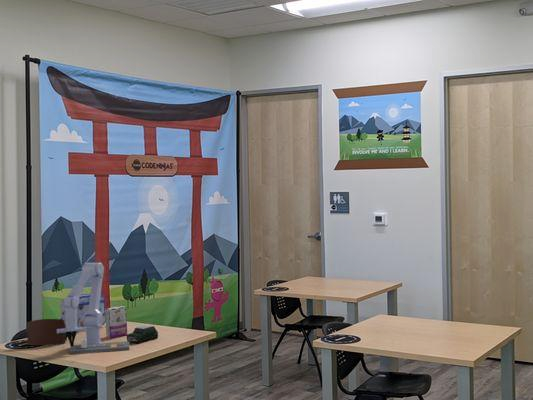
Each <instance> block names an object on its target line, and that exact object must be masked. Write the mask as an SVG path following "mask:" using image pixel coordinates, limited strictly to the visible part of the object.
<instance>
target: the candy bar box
mask: <svg viewBox="0 0 533 400" xmlns="http://www.w3.org/2000/svg"><path fill="white" fill-rule="evenodd" d="M105 318H106V322H105V334H106V338H108V339H113V338H119V337H123V336H127V335H128V323H127V322H128V321H127V307H126V306H125V305H121V306H113V307H109V308H106V309H105Z"/></svg>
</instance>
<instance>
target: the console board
mask: <svg viewBox="0 0 533 400" xmlns="http://www.w3.org/2000/svg"><path fill="white" fill-rule="evenodd" d="M119 351H130V342H129V341H127V340H126V341H115V342H114V341H113V342H101V343H98V344H87V347H86V348H81V344H74V346H73V347H71V346H70V347H69V351H68V352H69V355H77V354H90V353H91V354H92V353H101V352H103V353H104V352H119Z"/></svg>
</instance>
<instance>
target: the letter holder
mask: <svg viewBox="0 0 533 400" xmlns="http://www.w3.org/2000/svg"><path fill="white" fill-rule="evenodd" d="M62 328H66V325H65V322H64V320H62V319H61V318H60V319H59V318H42V319H35V320H30V321H27V323H26V329H27V334H26V335H27V340H26V341H27V346H28V345H35V346H46V345H48V346H49V345H50V344H51V345H61V344H62V345H65V344H66V342H67V341H68V337H67V336H66V333H57V329H62Z"/></svg>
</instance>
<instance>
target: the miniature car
mask: <svg viewBox="0 0 533 400" xmlns="http://www.w3.org/2000/svg"><path fill="white" fill-rule="evenodd" d="M157 338H159V331H158V330H157V329H156V328H155V326H154V325H152V324H142V325H139V326H136V327H135V328H134V330H133V331H132V332H131V333H127V335H126V338H125V339H126V342H127V341H129V343H132V342H137V344H139V345H140V344H143V341H146V340H148V339H153V340H157Z"/></svg>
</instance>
